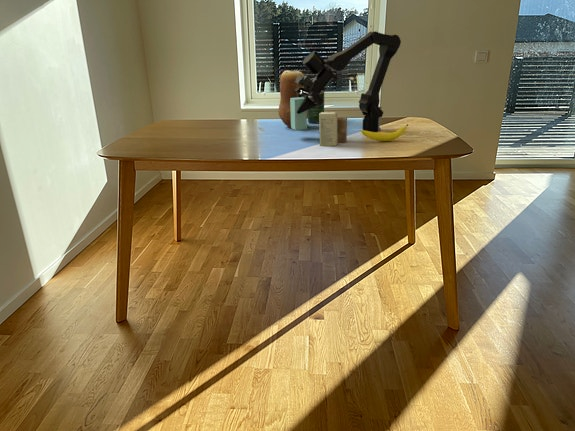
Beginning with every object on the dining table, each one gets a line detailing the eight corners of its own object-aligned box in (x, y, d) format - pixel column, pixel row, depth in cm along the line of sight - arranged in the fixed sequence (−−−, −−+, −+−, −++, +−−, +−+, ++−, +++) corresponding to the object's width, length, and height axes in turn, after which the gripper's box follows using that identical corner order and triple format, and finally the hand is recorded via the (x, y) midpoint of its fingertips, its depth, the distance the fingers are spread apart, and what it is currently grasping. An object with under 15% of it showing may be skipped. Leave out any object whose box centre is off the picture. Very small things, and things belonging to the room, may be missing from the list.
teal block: (302, 126, 175) (301, 97, 170) (306, 128, 171) (306, 98, 166) (291, 127, 173) (290, 98, 169) (295, 130, 169) (294, 99, 164)
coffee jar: (322, 124, 200) (323, 83, 192) (306, 123, 201) (306, 83, 194) (325, 120, 208) (325, 81, 201) (309, 120, 210) (309, 81, 203)
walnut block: (346, 140, 168) (347, 117, 164) (345, 143, 164) (346, 119, 160) (335, 140, 169) (335, 117, 165) (333, 142, 165) (334, 119, 161)
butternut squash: (313, 127, 193) (313, 70, 183) (289, 131, 186) (288, 72, 176) (296, 123, 203) (295, 68, 193) (272, 127, 196) (270, 70, 187)
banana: (358, 142, 165) (359, 125, 162) (405, 139, 166) (406, 123, 164) (360, 143, 162) (361, 127, 160) (408, 141, 164) (409, 124, 161)
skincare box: (337, 143, 163) (338, 111, 158) (335, 146, 159) (335, 113, 154) (321, 142, 165) (321, 111, 160) (318, 145, 161) (318, 113, 156)
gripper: (298, 66, 172) (274, 96, 173) (316, 69, 156) (289, 101, 157) (316, 85, 178) (292, 113, 179) (335, 89, 161) (309, 121, 162)
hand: (295, 112), depth 169 cm, fingers closed on teal block, 5 cm apart
